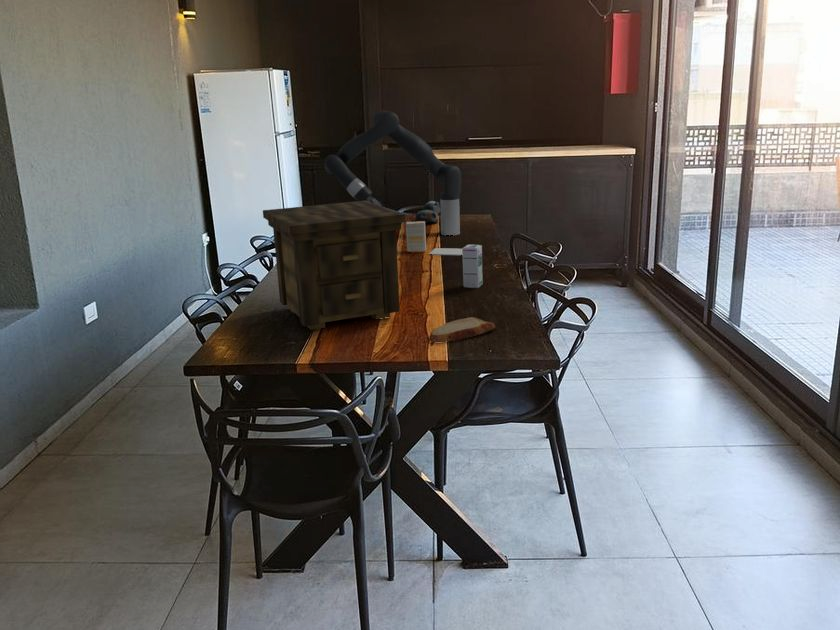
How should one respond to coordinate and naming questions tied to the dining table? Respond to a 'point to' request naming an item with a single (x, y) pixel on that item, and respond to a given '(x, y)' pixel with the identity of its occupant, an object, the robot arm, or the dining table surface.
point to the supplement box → (416, 236)
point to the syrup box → (472, 266)
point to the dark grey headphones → (429, 212)
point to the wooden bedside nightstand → (337, 260)
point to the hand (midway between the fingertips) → (387, 219)
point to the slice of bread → (461, 329)
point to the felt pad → (446, 251)
